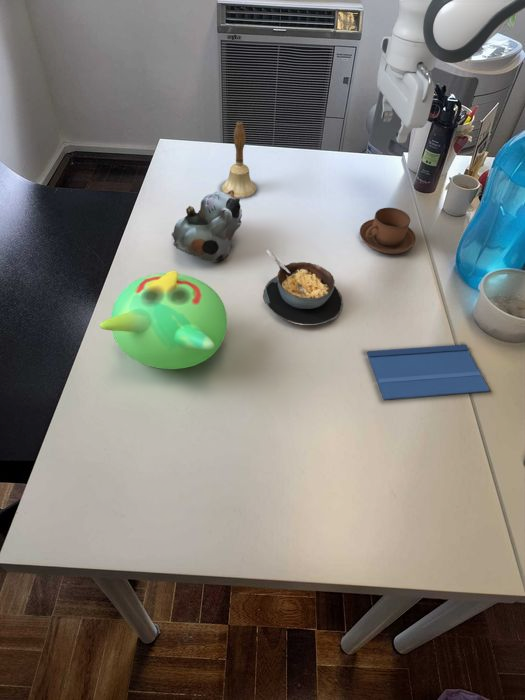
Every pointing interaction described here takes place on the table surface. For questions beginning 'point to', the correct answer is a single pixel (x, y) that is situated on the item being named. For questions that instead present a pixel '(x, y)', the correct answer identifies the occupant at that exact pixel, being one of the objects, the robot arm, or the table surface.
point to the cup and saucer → (388, 231)
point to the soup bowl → (303, 293)
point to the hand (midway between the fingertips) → (392, 130)
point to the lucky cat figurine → (209, 227)
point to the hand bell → (239, 169)
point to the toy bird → (168, 321)
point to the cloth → (426, 372)
